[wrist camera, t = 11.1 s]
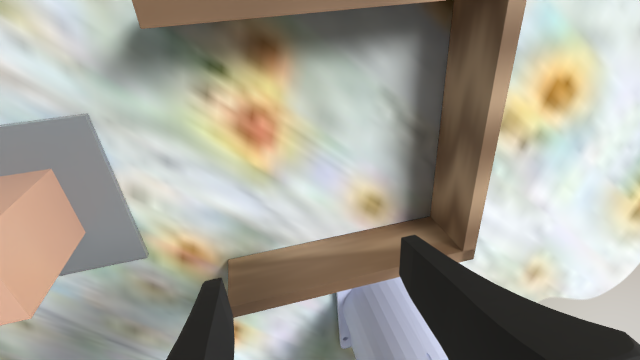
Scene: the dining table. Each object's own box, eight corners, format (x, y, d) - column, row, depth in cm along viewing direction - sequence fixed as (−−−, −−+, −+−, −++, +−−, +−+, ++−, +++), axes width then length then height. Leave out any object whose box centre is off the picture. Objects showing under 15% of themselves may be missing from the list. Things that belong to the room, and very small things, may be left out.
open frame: (439, 223, 28) (473, 258, 24) (231, 269, 25) (231, 318, 21) (471, -25, 19) (533, -33, 15) (155, 0, 16) (131, -1, 12)
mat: (148, 253, 23) (147, 257, 22) (-17, 287, 21) (-21, 292, 21) (87, 113, 18) (84, 115, 17) (-135, 142, 16) (-143, 145, 16)
